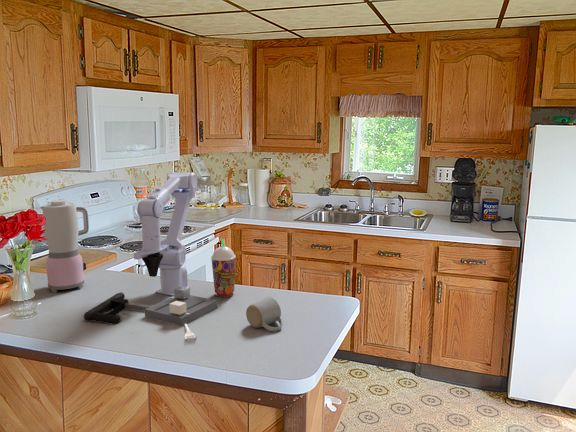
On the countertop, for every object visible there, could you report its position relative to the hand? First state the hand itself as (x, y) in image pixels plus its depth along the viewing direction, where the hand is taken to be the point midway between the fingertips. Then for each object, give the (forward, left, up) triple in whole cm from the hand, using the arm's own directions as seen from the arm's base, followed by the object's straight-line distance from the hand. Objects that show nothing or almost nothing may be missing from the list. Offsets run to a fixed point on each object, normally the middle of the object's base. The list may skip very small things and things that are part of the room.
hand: (153, 276), depth 171 cm
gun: (+11, -4, -10) cm, 16 cm away
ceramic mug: (-2, +43, -10) cm, 44 cm away
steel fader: (-3, +10, -6) cm, 12 cm away
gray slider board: (+2, +14, -9) cm, 17 cm away
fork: (+12, +24, -10) cm, 28 cm away
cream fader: (+8, +18, -7) cm, 21 cm away
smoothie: (-18, +16, -10) cm, 26 cm away
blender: (+2, -39, -10) cm, 41 cm away
